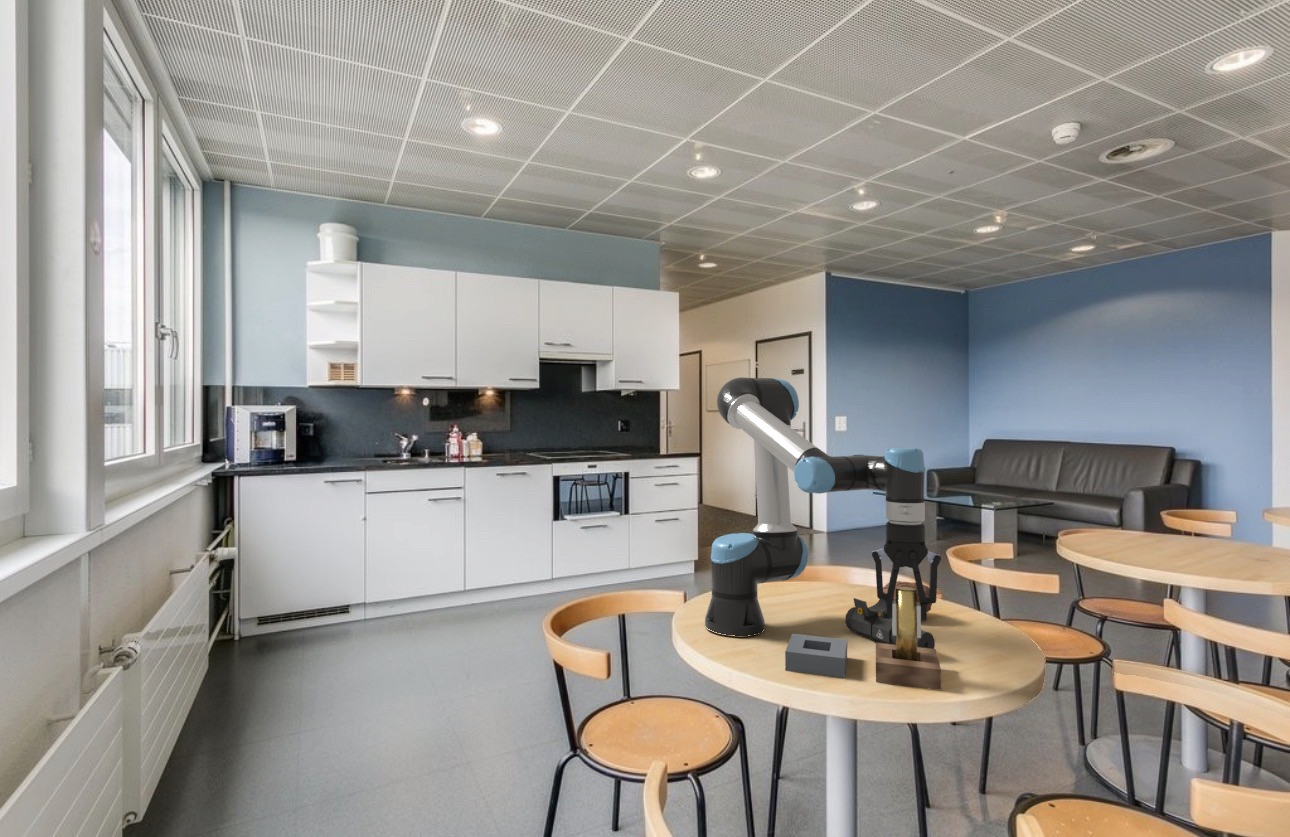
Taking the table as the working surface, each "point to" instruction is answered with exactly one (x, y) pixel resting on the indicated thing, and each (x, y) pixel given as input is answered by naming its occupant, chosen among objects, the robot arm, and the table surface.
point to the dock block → (908, 668)
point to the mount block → (816, 655)
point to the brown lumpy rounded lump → (911, 585)
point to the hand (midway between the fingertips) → (906, 634)
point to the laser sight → (878, 624)
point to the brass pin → (906, 623)
